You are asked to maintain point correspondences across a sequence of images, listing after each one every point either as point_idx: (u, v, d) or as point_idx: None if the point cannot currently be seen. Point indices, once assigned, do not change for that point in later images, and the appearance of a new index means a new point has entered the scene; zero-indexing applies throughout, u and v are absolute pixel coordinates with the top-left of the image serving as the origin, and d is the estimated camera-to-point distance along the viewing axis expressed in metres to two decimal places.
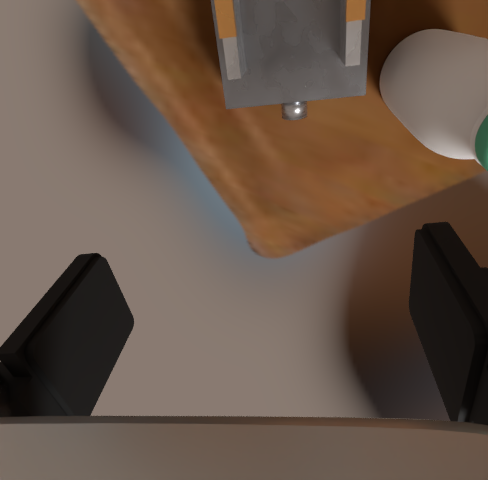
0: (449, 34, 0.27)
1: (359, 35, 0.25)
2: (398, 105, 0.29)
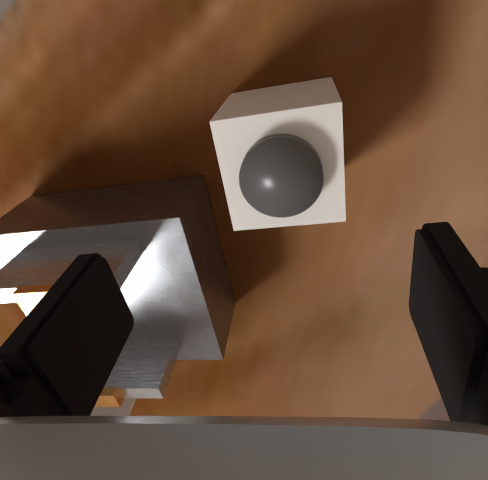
0: (122, 408, 0.31)
1: None
2: None
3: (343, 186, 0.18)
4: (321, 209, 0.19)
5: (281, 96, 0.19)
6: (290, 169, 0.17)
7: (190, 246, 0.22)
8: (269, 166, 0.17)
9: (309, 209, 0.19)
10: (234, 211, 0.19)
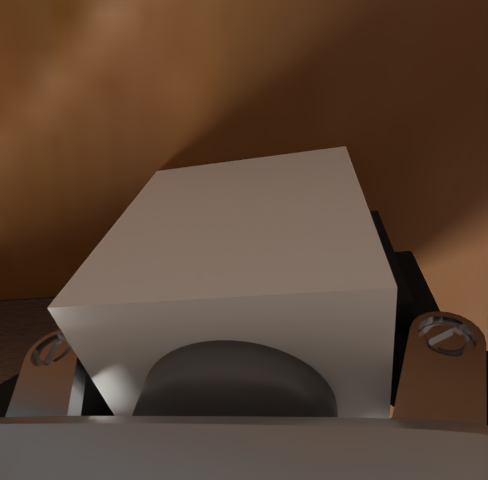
0: None
1: None
2: None
3: None
4: None
5: (241, 208, 0.09)
6: None
7: None
8: None
9: None
10: None
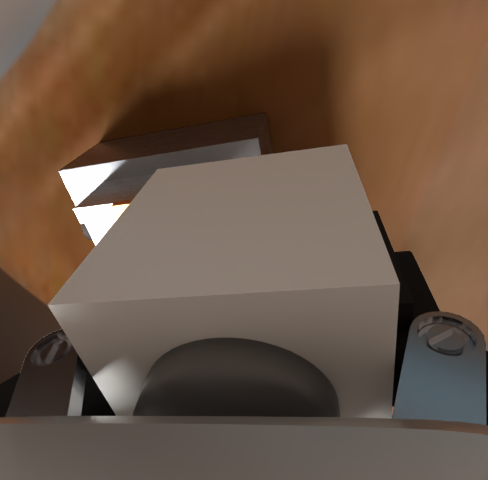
0: None
1: None
2: None
3: None
4: None
5: (242, 206, 0.08)
6: None
7: None
8: None
9: None
10: None
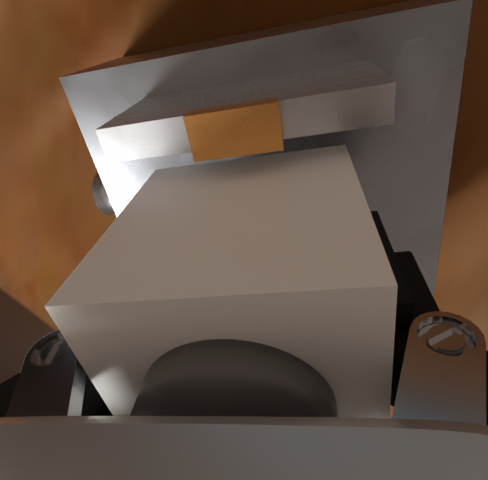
0: None
1: None
2: None
3: None
4: None
5: (240, 207, 0.08)
6: None
7: (459, 75, 0.12)
8: None
9: None
10: None
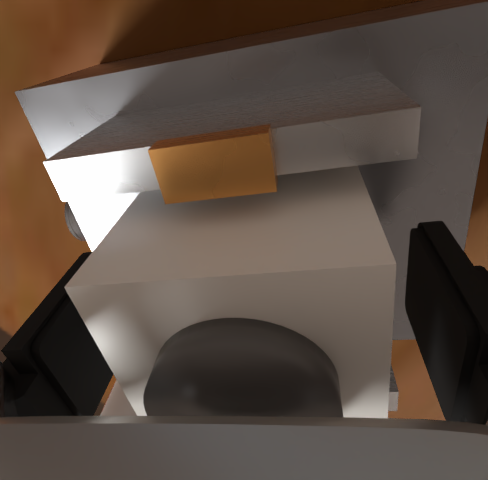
0: None
1: None
2: (127, 415, 0.17)
3: (384, 410, 0.08)
4: None
5: (247, 196, 0.09)
6: (263, 403, 0.07)
7: (486, 89, 0.10)
8: (212, 394, 0.07)
9: None
10: None
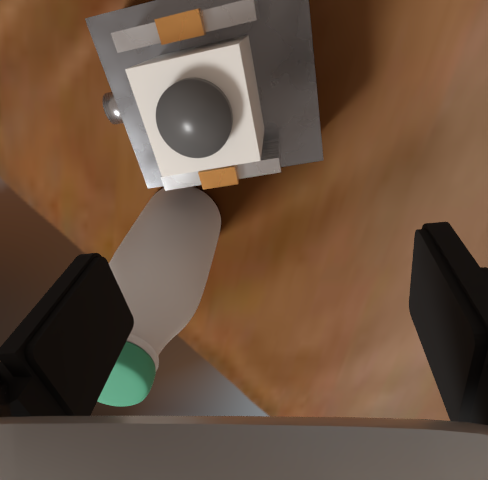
0: (210, 244, 0.31)
1: (190, 185, 0.24)
2: (142, 225, 0.29)
3: (253, 126, 0.20)
4: (237, 150, 0.20)
5: (196, 49, 0.21)
6: (200, 109, 0.19)
7: (308, 6, 0.22)
8: (181, 107, 0.19)
9: (226, 150, 0.21)
10: (159, 157, 0.21)
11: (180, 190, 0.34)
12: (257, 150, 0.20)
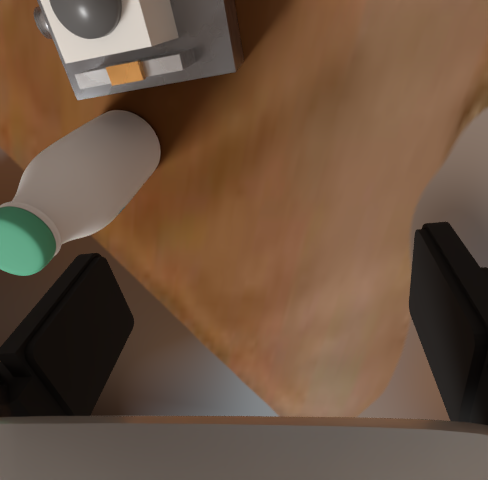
0: (139, 160, 0.33)
1: (102, 83, 0.26)
2: (70, 134, 0.31)
3: (140, 9, 0.21)
4: (129, 35, 0.22)
5: None
6: None
7: None
8: None
9: (119, 35, 0.22)
10: (61, 42, 0.23)
11: (117, 113, 0.36)
12: (147, 35, 0.22)
